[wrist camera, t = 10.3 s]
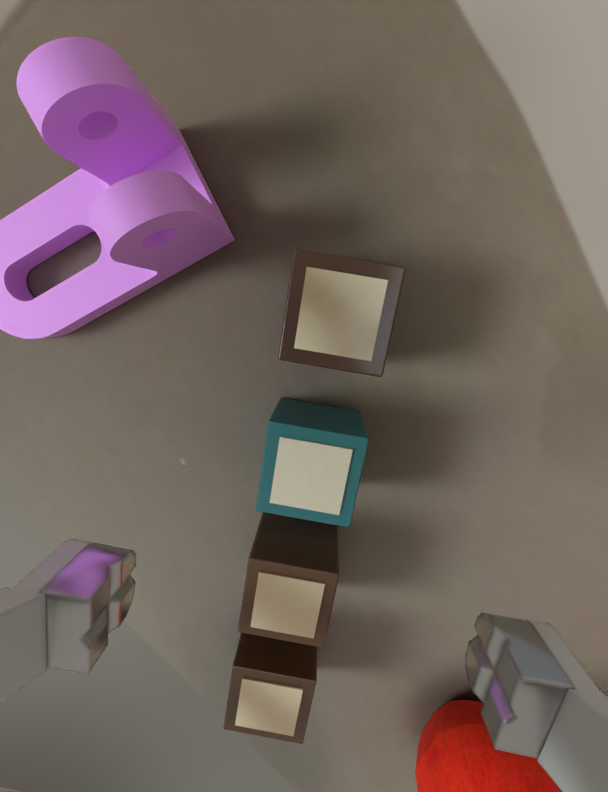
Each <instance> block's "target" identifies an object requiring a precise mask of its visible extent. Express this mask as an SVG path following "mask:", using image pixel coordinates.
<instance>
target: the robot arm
mask: <svg viewBox="0 0 608 792" xmlns="http://www.w3.org/2000/svg"><path fill="white" fill-rule="evenodd" d="M135 566H136V553H135V552H134V551H133V550H128V549H123V548H118V547H113V546H108V545H103V544H98V543H91V542H86V541H81V540H77V539H70V540H67V541H65V542H64V543H63V544H62V545H61V546H59V547H58V548H57V549H56V550H55V551H54V552H53V553H52V554H51V555H49V556H48V558H46V559H45V560H44V561H43V562H42V563H40V564H39V565H38V566H37V567H36V568H35V569H34V570H33V571H32V572H30V573H29V574H28V575H27V576H26V577H25V578H24V579H23V580H21V581H20V582H19V583H18V584H17V585H16V586H15V587H14V588H8V587H5V588H2V589H0V703H2V702H3V701H5V700H6V699H7V698H9V697H10V696H12V695H13V694H14V693H16V692H17V691H19V690H20V689H22V688H23V687H24V686H26V685H27V684H29V683H30V682H31V681H33V680H34V679H35V678H37V677H38V676H40V675H41V674H43V673H44V672H45V671H46V670H47V668H50V669H56V670H63V671H70V672H77V673H84V674H89V673H90V671H91V670H92V668H93V666H94V665H95V663H96V662H97V660H98V659H99V657H100V656H101V654H102V653H103V651H104V650H105V648H106V647H107V645H108V633H110V632H111V631H113V630H115V629H116V628H118V627H119V626H120V625H121V623H122V622H123V620H124V618H125V617H126V615H127V613H128V610H129V608H130V605H131V603H132V599H133V595H134V590H135V581H134V579H133V578H132V576H131V575H130V573H131V572H132V571H133V569H134V568H135ZM474 627H475V629H476V631H477V633H478V635H477V636H476V637H475V638H473V639H472V640H471V641H469V643H468V647H467V650H466V672H467V677H468V681H469V683H470V686H471V689H472V691H473V692H474V693H475V694H476V695H477V697H478V698H479V699H480V700H481V701H482V702H483V703H484V704H483V707H482V710H481V715H482V718H483V720H484V723H485V725H486V728H487V731H488V733H489V736H490V738H491V741H492V744H493V746H494V749H496V750H501V751H506V752H510V753H515V754H519V755H524V756H529V757H533V758H538V762H539V764H540V765H541V766H542V767H543V768H544V770H545V771H546V772H547V773H548V775H549V776H550V777H551V778H552V780H553V781H554V782H555V783H556V784H557V786H558V787H559V788H560V789H561V791H562V792H608V696H607V695H603V694H602V693H601V691H600V690H599V689H598V687H597V686H596V684H595V683H594V682H593V680H592V679H591V677H590V676H589V675H588V673H587V672H586V671H585V669H584V668H583V666H582V665H581V664H580V662H579V661H578V659H577V658H576V657H575V655H574V654H573V652H572V651H571V650H570V648H569V647H568V645H567V644H566V643H565V641H564V640H563V639H562V637H561V636H560V634H559V633H558V632H557V630H556V629H555V628H554V627H553V626H552V625H550V624H549V623H545V622H538V621H532V620H522V619H517V618H511V617H505V616H499V615H493V614H487V613H481V614H480V615H479V616H478V617H477V620H476V622H475V625H474ZM0 792H23V791H18V790H12V789H7V788H2V787H0Z"/></svg>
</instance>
